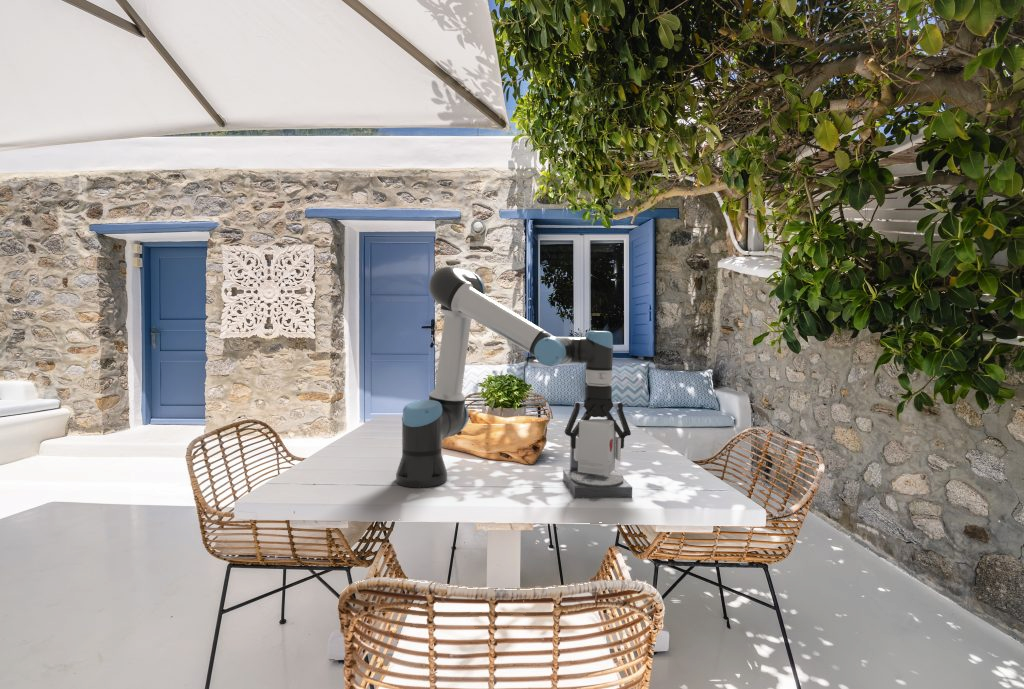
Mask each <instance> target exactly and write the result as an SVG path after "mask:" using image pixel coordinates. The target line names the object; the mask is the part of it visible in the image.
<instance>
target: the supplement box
mask: <svg viewBox="0 0 1024 689" xmlns="http://www.w3.org/2000/svg"><path fill="white" fill-rule="evenodd" d="M614 420H615V421H616V422H617V418H614ZM578 422H579V448H578V472H582V473H589V474H596V475H603V476H608V475H609V474H610V473H611V472H612V471H613V470H614V469H615V470H616V459H615V447H616V435H617V432H616V430H615V428H614V421H612V420H609V419H607V417H592V416H591V418H590V419H589V420H581V419H580V420H579V421H578Z"/></svg>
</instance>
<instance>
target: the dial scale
mask: <svg viewBox="0 0 1024 689" xmlns="http://www.w3.org/2000/svg"><path fill="white" fill-rule="evenodd" d="M572 431H573V430H572ZM572 431H571V432H572ZM577 437H578V438H579V433H578V435H577ZM569 438H570V440H569V441H570V442H569V443H570V444H569V445H570V446H569V469H563V471H562V474H563V475H562V476H563V477H562V479H563V480H562V481H563V482H564V483H565V485H566V487H567V489H568V490H569V492H570V493H571V495H572V496H573V498H574V499H579V500H580V499H632V498H633V486H632V485H631V484H630V483H629V482H628V481H627V480H626V479H625V477H624V475H622V474H621V473H619V472H618V471H617V470H616V468H615V469H614V470H613V471H612V472H611V473H610V474H609V475H608V476H603V475H596V474H589V473H582V472H578V461H575V459H574V449H572V448H571V437H570V436H569Z"/></svg>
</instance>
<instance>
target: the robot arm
mask: <svg viewBox="0 0 1024 689" xmlns="http://www.w3.org/2000/svg"><path fill="white" fill-rule="evenodd" d="M428 286H429V287H428V288H429V293H430V295H431V298H433V299H434V301H435V302H437V303H438V304H440V311H441V313H442V314H443V316H444V317H443V324H442V331H441V332H442V333H441V340H440V350H439V355H438V364H437V370H436V379H435V387H434V390H432V391H430V393H429V396H428V399H422V400H418V401H411V402H409V403H407V404H406V405H404V406H403V409H402V416H401V421H402V425H401V426H402V429H401V430H402V433H401V434H402V441H401V442H402V443H401V445H402V446H401V447H402V452H401V453H402V454H401V458H400V461H399V465H398V467H397V470H396V474H395V482H396V484H398V485H400V486H402V487H407V488H418V489H419V488H431V487H436V486H439V485H442V484H445V483H446V482H448V470H447V468H446V465H445V462H444V459H443V455H442V454H443V453H442V444H443V442H442V440H444V439H447V438H449V437H453V436H455V435H457V434H459V433H460V432H461V431H462V430H463V429H464V428H465V427H466V426H467V424H468V421H469V409H468V408H467V406H466V404H465V403H466V396H465V395H464V394H463V392H462V391H463V384H464V377H465V375H464V374H465V369H466V368H465V367H466V362H467V361H466V360H467V353H468V344H469V337H470V331H471V322H472V320H474V321H476V322H478V323H479V324H481V325H482V326H484V327H485V328H487V329H489V330H490V331H492V332H494V333H496V334H497V335H499V336H500V337H502V338H503V339H505V340H507V341H508V342H511V343H512V344H514V345H515V346H517V347H519V348H520V349H522V350H524V351H526V352H527V353H529V354H530V355H531V356H533V357H535V360H536V361H538V363H540V364H541V365H543V366H547V367H555V366H558V365H562V364H566V363H568V364H570V363H572V364H573V363H574V364H585V383H586V385H585V389H584V390H585V392H584V393H585V395H584V398H585V399H584V401H583V402H582V401H581V402H579V401H574V402H573V409H572V411H571V414H570V417H569V419H568V422H567V424H566V426H565V429H564V434H565V435H566V436H568V437H569V438H570V437H571V448H572V449H574V459H575V461H578V448H579V438H578V437H577V435H578V433H579V421H578V422H577V424H576V425H575V423H576V420H577V418H578V416H579V413H580V411H581V410H582V409H583V408H584V409H585V410H586V411H585V412H584V413H583V415H582V417H581V418H580V420H589V419H590V418H591V417H601V418H607V419H609V420H612V421H614V428H615V430H616V435H617V436H616V444H615V460H616V461H619V462H620V461H621V449H624V447H625V438H626V437H627V436H631V435H632V434H631V430H630V427H629V424H628V421H627V418H626V416H625V414H624V413H625V412H624V409H623V407H624V404H623V403H622V402H621V401H617V402H613V401H612V400H613V399H612V396H613V386H612V385H611V384H612V383H613V360H614V359H613V356H614V355H613V354H614V353H613V352H614V346H613V345H614V342H613V340H614V339H613V338H614V337H613V333H612V332H611V331H608V330H588V331H586V335H585V336H583V337H575V336H557V335H556V336H555V335H553V334H552V333H549V332H548V331H546V330H545V329H543V328H541V327H539V326H538V325H537V324H534V323H533V322H532V321H529V320H528V319H526V318H524V317H523V316H520V315H519V314H517V313H515V312H514V311H513V310H510V309H509V308H507V307H506V306H504V305H502V304H501V303H499V302H497V301H495V300H493V299H492V298H490V297H488V296H486V286H485V283H484V281H483V280H482V278H481V276H480V275H478V274H476V273H475V272H474V271H471V270H467V269H462V268H461V269H460V268H457V267H454V266H443V267H441V268H439V269H437V270H436V271H435V272H434V273H432V275H431V277H430V280H429V283H428ZM613 408H614V410H616V413H617V416H618V419H619V422H620V424H621V426H622V429H623V430H622V429H621V428H620V426H619V424H618V422H617V420H616V421H615V420H614V419H615V418H614V417H613V415H612V413H611V412H610V411H611V410H612V409H613ZM574 425H575V426H574ZM571 431H572V432H571Z"/></svg>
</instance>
